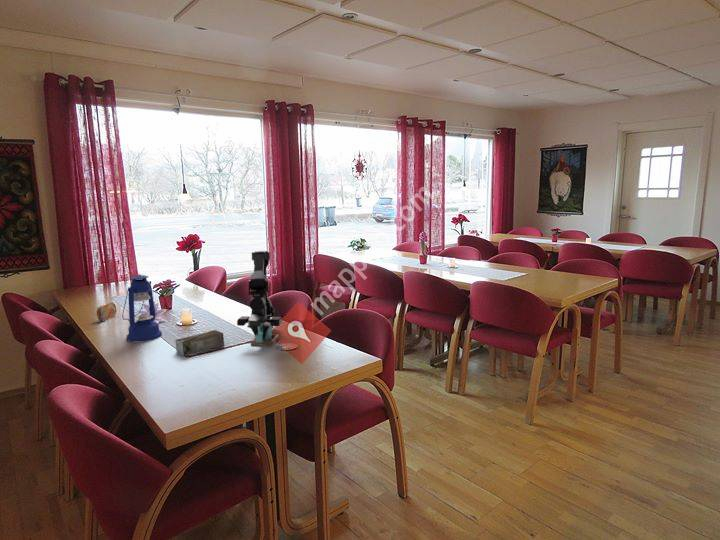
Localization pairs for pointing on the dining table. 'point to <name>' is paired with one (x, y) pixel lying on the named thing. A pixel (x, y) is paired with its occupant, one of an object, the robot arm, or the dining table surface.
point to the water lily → (155, 313)
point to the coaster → (283, 347)
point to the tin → (106, 311)
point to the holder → (274, 337)
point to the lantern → (145, 323)
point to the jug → (260, 334)
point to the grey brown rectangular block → (199, 342)
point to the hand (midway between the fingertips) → (260, 340)
